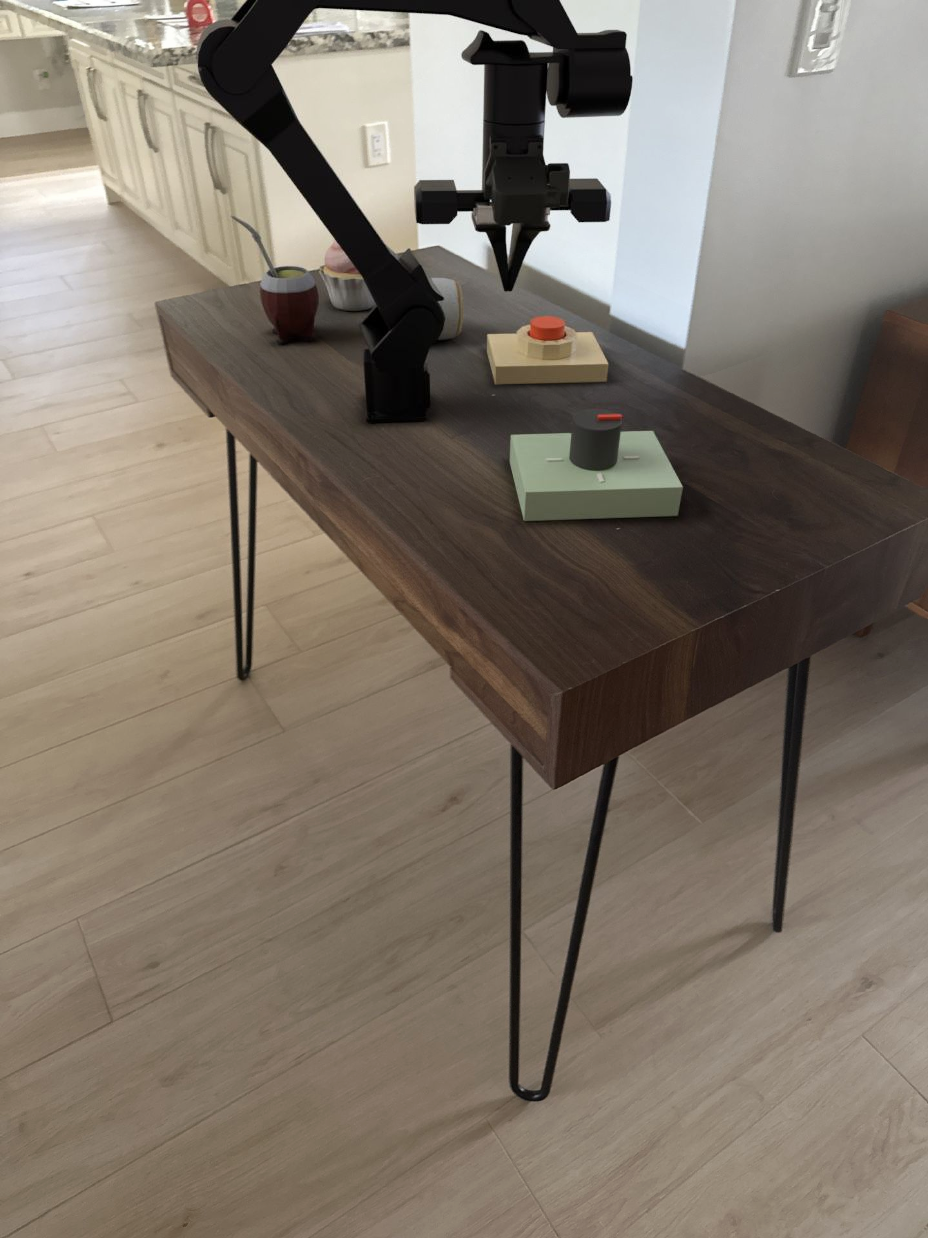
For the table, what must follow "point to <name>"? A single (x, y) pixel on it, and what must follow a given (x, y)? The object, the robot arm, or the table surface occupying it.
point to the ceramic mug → (450, 307)
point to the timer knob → (595, 439)
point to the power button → (547, 328)
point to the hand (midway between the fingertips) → (507, 290)
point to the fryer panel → (593, 479)
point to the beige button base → (546, 358)
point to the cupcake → (344, 281)
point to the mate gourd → (287, 297)
